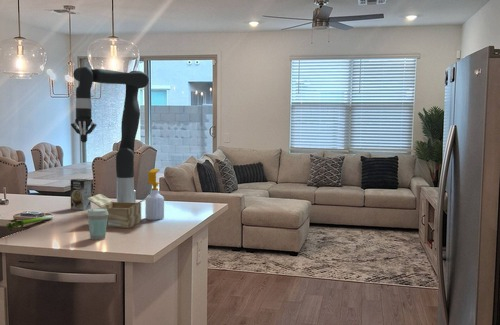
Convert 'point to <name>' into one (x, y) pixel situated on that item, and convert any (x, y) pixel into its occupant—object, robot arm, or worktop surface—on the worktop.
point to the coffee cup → (97, 223)
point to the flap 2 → (140, 201)
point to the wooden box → (122, 214)
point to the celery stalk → (26, 222)
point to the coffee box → (80, 194)
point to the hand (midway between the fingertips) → (83, 142)
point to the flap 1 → (99, 200)
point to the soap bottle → (154, 199)
